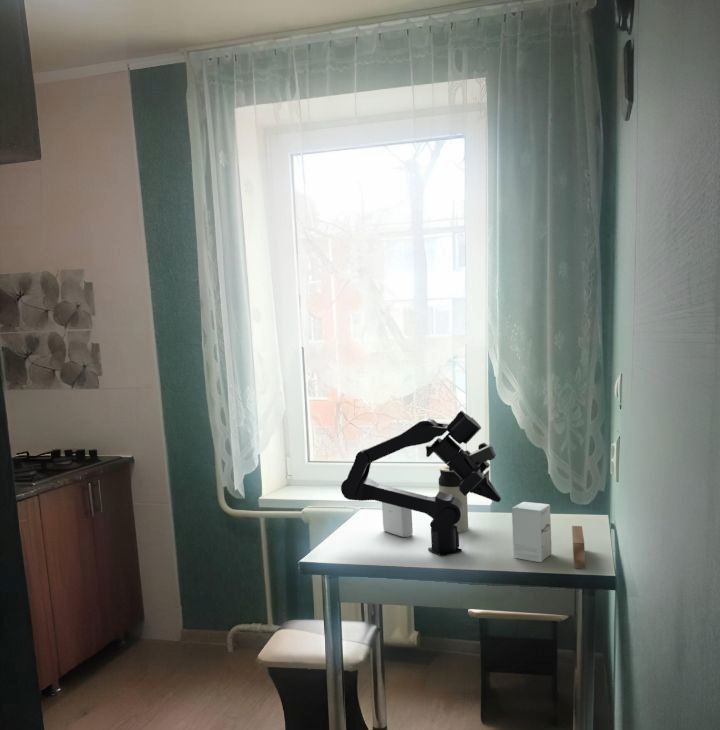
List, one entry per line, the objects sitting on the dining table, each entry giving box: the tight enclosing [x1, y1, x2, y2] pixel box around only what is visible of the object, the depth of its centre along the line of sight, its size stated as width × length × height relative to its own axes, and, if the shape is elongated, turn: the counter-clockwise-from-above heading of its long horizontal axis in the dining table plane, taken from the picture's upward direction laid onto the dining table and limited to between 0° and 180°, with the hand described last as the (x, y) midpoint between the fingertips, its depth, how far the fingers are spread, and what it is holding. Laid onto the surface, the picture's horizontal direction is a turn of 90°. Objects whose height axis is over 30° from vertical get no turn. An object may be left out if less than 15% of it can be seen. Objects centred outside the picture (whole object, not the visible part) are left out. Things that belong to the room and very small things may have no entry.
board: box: [571, 525, 586, 569], centre depth 150 cm, size 2×14×6 cm, turn 163°
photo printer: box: [381, 502, 414, 538], centre depth 178 cm, size 10×4×12 cm, turn 35°
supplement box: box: [511, 501, 553, 563], centre depth 154 cm, size 7×7×13 cm
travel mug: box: [438, 465, 469, 533], centre depth 179 cm, size 8×8×18 cm
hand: (499, 500), depth 156 cm, fingers closed
